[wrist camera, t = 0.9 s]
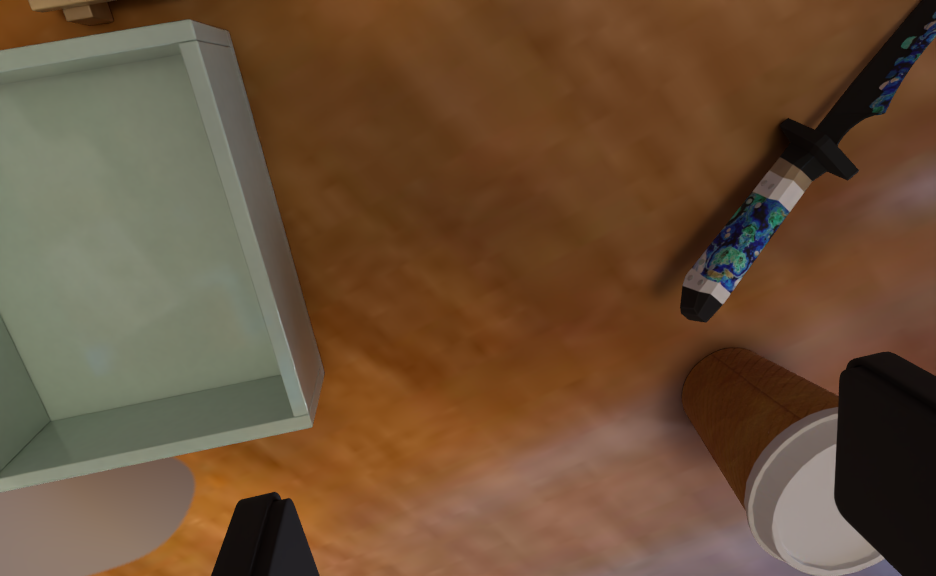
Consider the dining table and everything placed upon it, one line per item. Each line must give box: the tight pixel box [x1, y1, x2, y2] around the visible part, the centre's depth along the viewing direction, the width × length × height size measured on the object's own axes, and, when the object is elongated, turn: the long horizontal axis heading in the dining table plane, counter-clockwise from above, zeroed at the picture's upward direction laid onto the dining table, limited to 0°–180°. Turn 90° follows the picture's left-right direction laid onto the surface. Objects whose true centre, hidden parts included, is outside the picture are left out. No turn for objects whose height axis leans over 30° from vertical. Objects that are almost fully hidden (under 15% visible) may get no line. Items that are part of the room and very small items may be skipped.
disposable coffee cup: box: [682, 348, 884, 576], centre depth 35 cm, size 10×10×12 cm
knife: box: [680, 0, 936, 322], centre depth 33 cm, size 31×3×4 cm, turn 137°
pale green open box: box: [0, 19, 325, 492], centre depth 30 cm, size 20×17×6 cm
